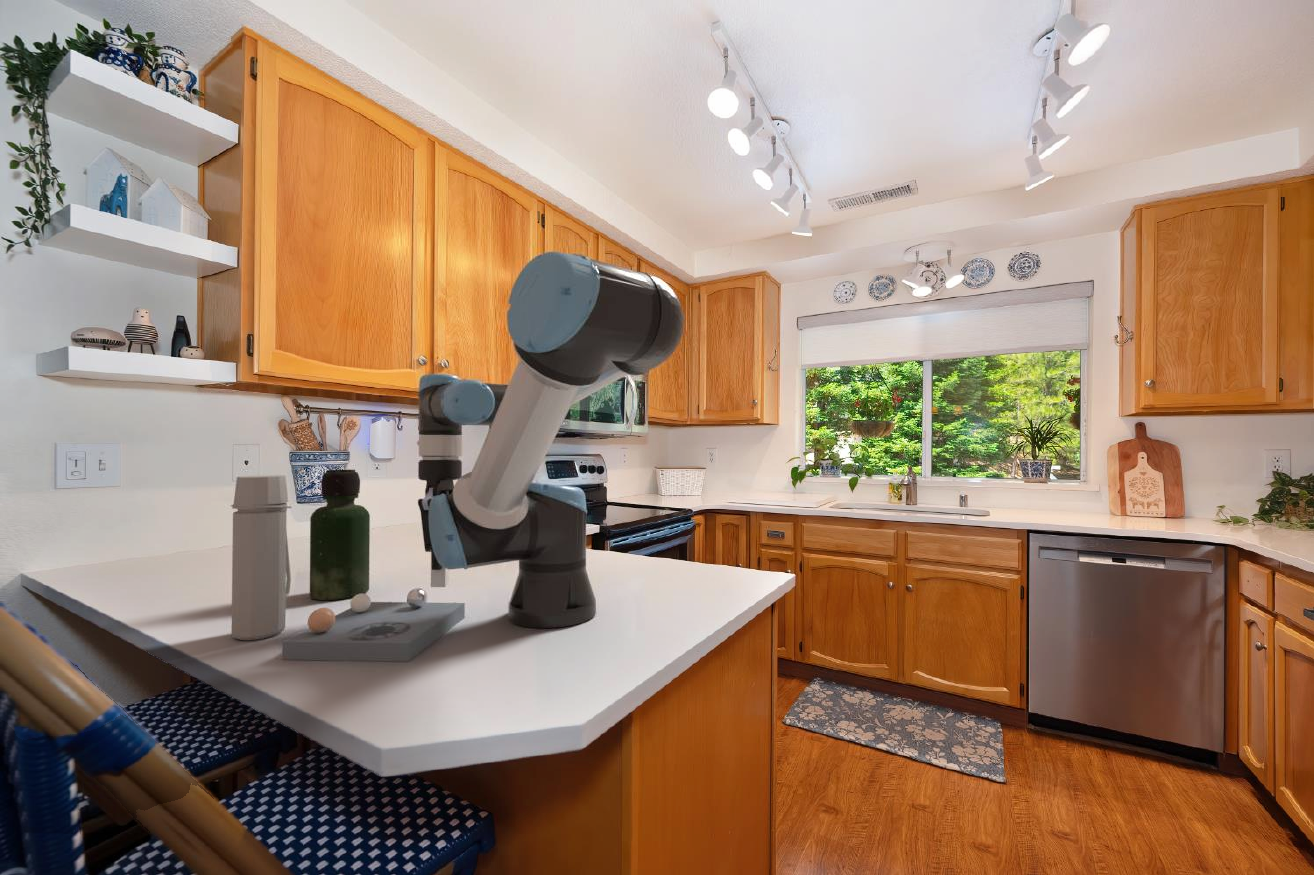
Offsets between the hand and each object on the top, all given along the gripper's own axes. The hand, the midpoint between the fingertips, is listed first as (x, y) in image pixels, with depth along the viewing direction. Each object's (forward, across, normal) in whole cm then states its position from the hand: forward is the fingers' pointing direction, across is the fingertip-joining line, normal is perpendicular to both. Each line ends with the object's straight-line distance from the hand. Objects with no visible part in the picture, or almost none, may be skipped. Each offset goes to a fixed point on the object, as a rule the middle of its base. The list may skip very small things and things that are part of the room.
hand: (439, 586), depth 104 cm
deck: (+4, +16, -2) cm, 16 cm away
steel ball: (0, +9, 0) cm, 9 cm away
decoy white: (0, +12, -8) cm, 14 cm away
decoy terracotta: (0, +22, -8) cm, 23 cm away
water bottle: (+4, +15, -22) cm, 27 cm away
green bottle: (+4, -8, -24) cm, 26 cm away
